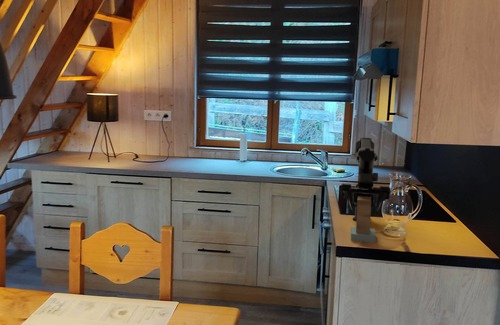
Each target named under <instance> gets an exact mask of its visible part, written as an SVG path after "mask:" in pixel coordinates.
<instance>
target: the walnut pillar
mask: <svg viewBox="0 0 500 325" xmlns="http://www.w3.org/2000/svg"><path fill="white" fill-rule="evenodd" d="M371 212H372V208H371V197H361V196H358V199H357V220H356V224H355V225H356V226H355V227H356V233H368V234H370V228H371V215H372V214H371Z"/></svg>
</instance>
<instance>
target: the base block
mask: <svg viewBox="0 0 500 325" xmlns="http://www.w3.org/2000/svg"><path fill="white" fill-rule="evenodd" d="M376 238H377V234H376V229H375V228H371V227H370V234H368V233H356V226H351V227H350V241H351V242H353V241H354V242H364V243H365V242H366V243H376V241H377V239H376Z"/></svg>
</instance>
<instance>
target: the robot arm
mask: <svg viewBox="0 0 500 325" xmlns="http://www.w3.org/2000/svg"><path fill="white" fill-rule="evenodd" d="M354 151H355V154H356V161H357V162H358V173H357V174H358V175H357V184H356V186H355V187H353V186H352V184H351V183H342V184H340V197H343V198H344V199H346V200H347V203H348V204H349V208H350V209H351V211H353V209H354V210H355V211H354V217H353V218H352V220H353V221H357V199H358V196H361V197H371V209H372V208H374V207H375V200H376V198H375V196H374V195H376V196H377V203H376V208H375V209H376V210H375V211H376V212H378V211H379V210H380V207H381V204H382V203H383V202H385V201H386V200H390V196H391V193H392V192H391V190H392V189H391V187H390V186H389V185H388V186H386V185H379V188H378V189H377V188H374V182H375V183H377V182H378V180H379V179H378V178H379V173H378V172H374V165H375V162H376V161H378V159H379V157H378V155H377V153H376V152H375V143H374V141H372V138H370V137H360V138H359V140H358V141H356V143H355V150H354ZM354 207H355V208H354Z"/></svg>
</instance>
